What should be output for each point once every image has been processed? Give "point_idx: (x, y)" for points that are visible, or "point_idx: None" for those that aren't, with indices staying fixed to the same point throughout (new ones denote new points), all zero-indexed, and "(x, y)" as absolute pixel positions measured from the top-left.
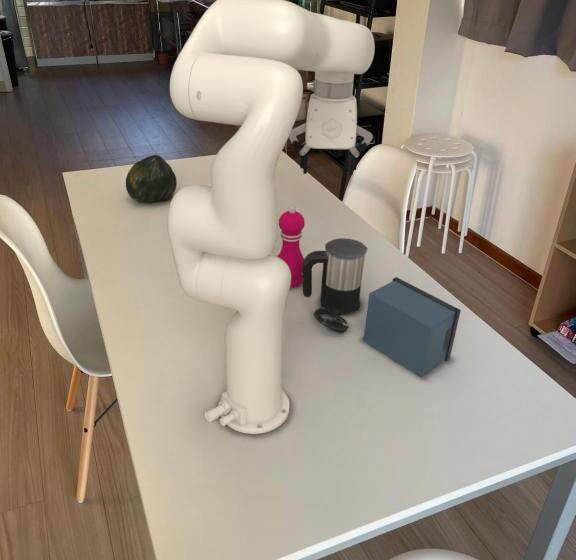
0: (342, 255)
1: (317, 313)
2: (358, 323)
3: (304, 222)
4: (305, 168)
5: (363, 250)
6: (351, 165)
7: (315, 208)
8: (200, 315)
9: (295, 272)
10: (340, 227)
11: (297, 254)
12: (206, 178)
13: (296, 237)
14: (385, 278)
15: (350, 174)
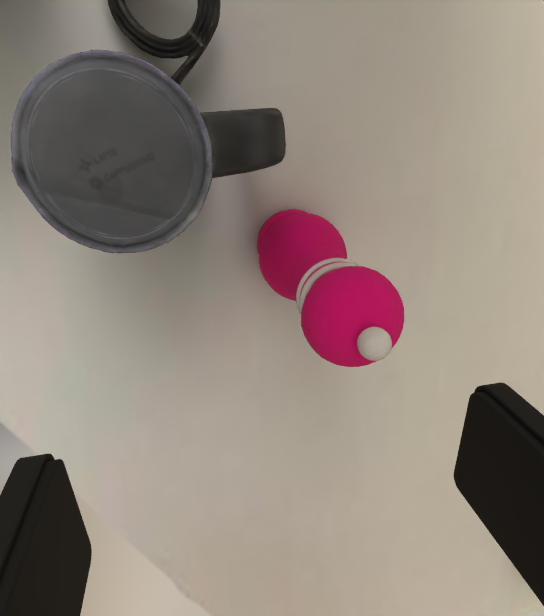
0: (125, 77)
1: (208, 5)
2: (74, 31)
3: (305, 318)
4: (522, 415)
5: (27, 145)
6: (3, 553)
7: (237, 557)
8: (512, 48)
9: (287, 219)
10: (173, 501)
11: (295, 254)
12: (458, 596)
13: (319, 269)
14: (22, 296)
15: (44, 455)
